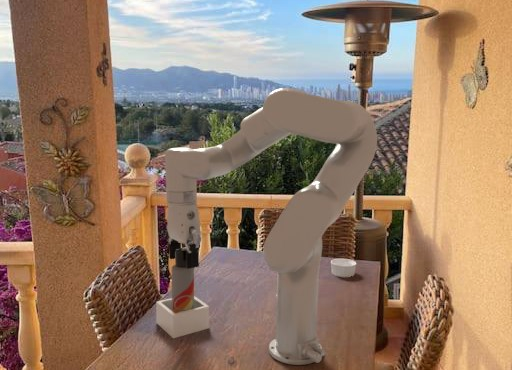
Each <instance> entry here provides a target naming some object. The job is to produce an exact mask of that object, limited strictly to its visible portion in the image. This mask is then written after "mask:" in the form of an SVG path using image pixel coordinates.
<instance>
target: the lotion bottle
mask: <svg viewBox="0 0 512 370" xmlns="http://www.w3.org/2000/svg"><path fill="white" fill-rule="evenodd" d="M186 253H188V252H187V249H186V247H181V248H179V249H177V250H175V259H174V263H175V264H174V265H173V266H171V298H172V312H174V313H179V312H183V311H187V310H191V309H194V296H195V268H190V269H188V268H187V267H186Z"/></svg>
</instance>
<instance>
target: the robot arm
mask: <svg viewBox="0 0 512 370" xmlns="http://www.w3.org/2000/svg"><path fill="white" fill-rule="evenodd" d="M376 128H377V127H376V124H375V123H374V119H373V118H372V116H371V115H370V112H368V110H366V108H365V107H363V105H361V104H359V103H358V102H355V101H351V100H341V99H340V100H339V99H335V98H328V97H325V96H324V97H323V96H319V95H315V94H311V93H307V92H306V91H304V90H301V89H297V88H290V87H281V88H277V89H275V90H272V92H270V93H269V94H268V95H267V96H266V98H265V99H264V102H263V105H262V107H260V108H259V109H257V110H255V111H254V112H253V113H251V114H249V115H247V116H246V117H245V118H243V119H242V121H241V122H240V129H239V131H238V132H236V134H234V135H233V136H231V137H230V138H228V139H227V140H225V141H223V142H222V143H220V144H218V145H216V146H210V147H209V146H208V147H203V148H196V149H195V148H194V149H193V148H191V147H172V148H168V149H167V150H166V151H165V153H164V159H165V160H164V162H165V165H164V166H165V187H166V188H165V192H166V194H165V195H166V204H167V224H166V225H165V226H166V230H167V231H166V232H167V237H168V240H167V242H168V249H169V250H168V254H169V255H168V256H169V259H170V260H175V250H177V249H179V248H182V244H183V245H184V246H185V248H186V249H187V252H188V253H186V267H187V268H188V269H190V268H194V269H195V268H199V266H200V259H199V258H200V255H199V254H200V253H199V252H200V248H201V243H202V236H201V235H202V233H201V232H202V231H201V219H200V212H199V207H198V203H197V202H198V199H197V198H198V197H197V194H198V193H197V191H198V190H197V180H198V181H205V180H209V179H210V180H211V179H214V178H216V177H217V178H218V177H223V176H225V175H228V174H229V173H230V172H233V171H235V170H236V169H238V168H240V167H242V166H243V165H245V164H247V163H248V162H250V161H251V160H253V159H254V158H255V157H256V156H258V155H260V154H261V153H262V152H263V151H265V150H267V149H268V148H270V147H272V146H273V145H275V144H276V143H278V142H280V141H281V140H283V139H285V138H287V137H288V136H291V135H296V136H301V137H303V138H304V137H305V138H307V139H308V138H309V139H312V140H315V141H319V142H323V143H328V144H336V145H335V147H334V149H333V150H332V152H331V154H330V155H329V156H328V157H327V159H326V160H325V161H324V164H323V166H322V167H321V169H320V170H319V172H318V173H317V175H316V176H315V178H314V180H313V181H312V182H311V183H309V185H308V186H305V187H302V189H300V190H298V191H297V192H296V193H294V195H292V197H291V198H290V199H289V200H288V202H287V203H286V205H285V207H284V208H283V210H282V211H281V213H280V215H279V217H278V218H277V220H276V221H275V223H274V225H273V227H272V228H271V230H270V231H269V233H268V235H267V237H266V240H264V244H263V248H262V249H263V252H262V253H263V257H264V261H265V263H266V265H267V266H268V268H269V269H271V271H273V272H275V273H276V274H277V276H276V277H277V279H276V300H275V301H276V305H275V306H276V308H275V309H276V310H275V338H274V339H273V340H271V341H270V342H269V345H268V353H269V354H270V356H271V357H272V358H273V359H275V360H276V361H279V362H281V363H283V364H286V365H287V364H288V365H293V366H303V365H304V366H305V365H310V364H312V363H316V364H317V363H318V364H319V363H320V362H321V361H322V358H323V357H324V356H325V355H326V350H324V348H323V347H322V344H321V343H320V338H319V337H317V331H318V330H317V326H318V325H317V324H318V300H319V278H320V267H321V259H322V252H323V238H322V237H323V235H324V234H325V232H326V231H327V229H328V228H329V227H330V226H331V225H333V224H334V223H335V222H336V221H337V220H338V219H339V218H340V216H341V215H342V213H343V211H344V209H345V207H346V205H347V204H348V202H349V200H350V199H351V197H352V196H353V194H354V193H355V192H356V190H357V188H358V186H359V185H360V182H361V181H362V179H363V177H364V176H365V174H366V173H367V171H368V169H369V168H370V166H371V164H372V162H373V159H374V157H375V154H376V150H377V146H378V133H377V129H376ZM190 245H191V246H190Z"/></svg>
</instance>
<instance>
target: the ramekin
mask: <svg viewBox="0 0 512 370" xmlns="http://www.w3.org/2000/svg"><path fill="white" fill-rule="evenodd" d="M330 266H331V274H332V275H333V276H334V277H338V278H350V277H351V276H352V277H354V276H355V274H356V266H357V262H356V261H355V260H353V259H350V258H349V259H348V258H334V259H332V260H331V261H330ZM352 277H351V278H352Z"/></svg>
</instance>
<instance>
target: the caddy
mask: <svg viewBox="0 0 512 370" xmlns="http://www.w3.org/2000/svg"><path fill="white" fill-rule="evenodd" d="M155 304H156V306H155V307H156V312H155V313H156V324H157V325H158V326H159V327H160V328H161V329H162V330H164V331H165V333H167V334H168V335H169V336H170V337H171V338H172V339H177V338H180V337H183V336H187V335H189V334H193V333H197V332H201V331H204V330H207V329H210V306H209V305H208V304H207V303H205V302H204V301H202V300H201V299H199V298H198V297H197V296H195V295H194V309H191V310H187V311H183V312H179V313H174V312H172V297H171V298H167V299H161V300H158V301H156V302H155Z"/></svg>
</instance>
